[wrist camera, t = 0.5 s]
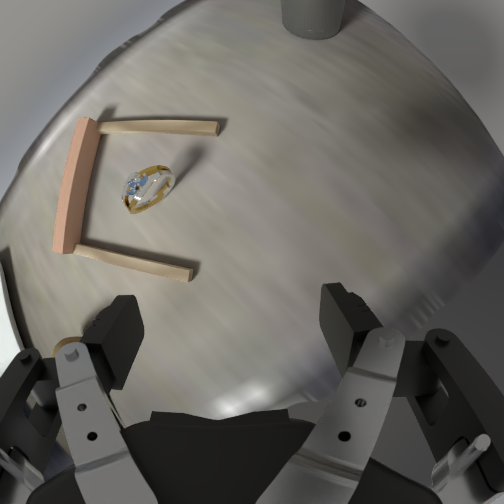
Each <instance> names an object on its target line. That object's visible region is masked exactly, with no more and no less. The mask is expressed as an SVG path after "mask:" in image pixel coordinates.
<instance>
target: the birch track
mask: <svg viewBox="0 0 504 504" xmlns="http://www.w3.org/2000/svg"><path fill="white" fill-rule="evenodd" d="M219 129H220V125H219V123H218V122H213V121H192V120H136V121H115V122H101V123H98V126H97V129H96V132H98V133H100V134H122V133H165V134H191V135H208V136H218V134H219ZM73 253H74V254H78V255H81V256H85V257H88V258H92V259H96V260H99V261H103V262H107V263H111V264H114V265H118V266H122V267H126V268H130V269H134V270H138V271H142V272H146V273H150V274H154V275H159V276H163V277H167V278H171V279H176V280H180V281H184V282H190V281H192V276H193V269H190V268H186V267H181V266H176V265H172V264H167V263H162V262H158V261H153V260H149V259H144V258H140V257H136V256H131V255H127V254H123V253H118V252H114V251H110V250H106V249H101V248H97V247H93V246H89V245H85V244H81V243H74V249H73Z"/></svg>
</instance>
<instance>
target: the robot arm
mask: <svg viewBox="0 0 504 504" xmlns="http://www.w3.org/2000/svg"><path fill="white" fill-rule="evenodd" d="M345 2H346V0H281V7H282V20H283V24H284V26H285V27H286V28H287V30H289V31H290V32H291V33H293V34H295V35H297V36H300V37H303V38H307V39H315V40H317V39H326V38H330V37H332V36H334V35H336V34H337V33H338V32H339V30H340V27H341V22H342V17H343V13H344V7H345ZM319 321H320V327H321V330H322V332H323V335H324V337H325V339H326V342H327V344H328V346H329V348H330V351H331V353H332V355H333V358H334V360H335V362H336V365H337V367H338V369H339V372H340V374H341V376H342V380H341V382H340V384H339V386H338V388H337V390H336V391H335V393H334V395H333V397H332V399H331V400H330V402H329V404H328V406H327V407H326V409H325V411H324V412H323V414H322V416H321V417H320V419H319V421H318V422H317V424H314V423H312V422H308V421H305V420H300V419H294V418H289V415H288V410H287V409H281V410H271V411H259V412H251V413H247V414H243V415H239V416H235V417H231V418H227V419H222V420H212V419H207V418H202V417H198V416H193V415H189V414H185V413H171V412H155V411H152V414H151V418H150V421H144V422H140V423H137V424H134V425H131V426H129V427H127V428H126V426H125V424H124V422H123V420H122V418H121V416H120V414H119V412H118V410H117V408H116V406H115V404H114V402H113V399H112V397H111V396H110V394H109V393H110V391H111V389H115V390H122V389H123V386H124V384H125V381H126V379H127V376H128V374H129V371H130V369H131V367H132V364H133V362H134V359H135V357H136V355H137V352H138V350H139V347H140V345H141V343H142V340H143V338H144V325H143V321H142V318H141V314H140V310H139V307H138V303H137V299H136V297H135V296H134V295H118V296H117V297H116V298H115V299H114V301H113V302H112V303H111V305H110V306H108V307H106V308H105V309H103V310H102V311H101V312H100V313H99V314H98V315H97V317H96V318H95V320H94V321H93V322H92V324H91V326H89V328H88V329H87V331H86V332H85V334H84V335H83V336H82V338H81V339H80V341H79V342H73V343H69V344H66V345H64V346H63V347H61V348H60V349H59V350H58V351H57V353H56V356H55V357H52V358H44V359H43V358H42V357H41V355H40V353H39V351H38V350H37V349H35V348H27V349H24V350H22V351H20V352H19V353H18V354H17V355H16V356H15V357H14V359H13V360H12V361H11V363H10V364H9V365H8V367H7V368H6V370H5V371H4V373H3V374H2V376H1V377H0V504H490V503H492V502H493V501H495V500H496V499H497V498H499V497H500V496H502V495H503V494H504V396H503V395H502V393H501V392H500V390H499V389H498V387H497V386H496V385H495V384H494V382H493V381H492V379H491V378H490V377H489V375H488V374H487V373H486V372H485V370H484V369H483V368H482V367H481V365H480V364H479V363H478V362H477V360H476V359H475V358H474V357H473V356H472V354H471V353H470V352H469V351H468V349H467V348H466V347H465V346H464V345H463V343H462V342H461V341H460V340H459V339H458V337H457V336H456V335H454V334H453V333H452V332H450V331H448V330H445V329H432V330H430V331H428V332H427V334H426V336H425V339H424V341H405V338H404V336H403V335H402V334H401V333H400V332H398V331H397V330H394V329H391V328H386V327H383V325H382V324H381V323H380V321H379V320H378V319H377V317H376V316H375V315H374V314H373V312H372V311H371V310H370V308H369V307H368V306H367V305H366V303H365V302H364V300H363V299H362V298H361V297H359V296H358V295H356V294H354V293H353V292H350V293H348V292H347V291H346V289H345V288H344V287H343V285H342V284H341V283H340V282H338V283H328V284H323V285H322V288H321V301H320V314H319ZM441 384H443V385H444V387H445V388H446V390H447V392H448V396H449V398H448V397H447V395H446V393H445V392H444V390H443V389H442V387H441ZM30 393H31V394H32V396H33V397H34V399H35V400H36V404H35V406H34V408H33V410H32V412H31V414H30V416H29V418H28V420H27V418H26V417H25V415H24V412H23V406H24V403H25V402H26V400H27V398H28V396H29V394H30ZM392 397H406V398H407V400H408V402H409V404H410V406H411V408H412V410H413V412H414V414H415V416H416V418H417V420H418V423H419V425H420V427H421V429H422V431H423V433H424V436H425V438H426V440H427V442H428V444H429V447H430V449H431V451H432V454H433V456H434V458H435V461H436V463H437V464H436V466H435V467H434V469H433V472H432V482H433V483H432V488H433V490H431V489H430V488H428V487H426V486H424V485H422V484H420V483H418V482H416V481H414V480H412V479H410V478H408V477H406V476H404V475H402V474H400V473H398V472H396V471H395V470H393V469H391V468H389V467H387V466H385V465H384V464H382V463H380V462H378V461H376V460H375V459H373V458H371V457H370V455H371V453H372V450H373V448H374V445H375V443H376V441H377V438H378V435H379V433H380V430H381V428H382V425H383V422H384V419H385V417H386V413H387V411H388V408H389V405H390V402H391V398H392ZM62 423H63V427H64V431H65V435H66V438H67V441H68V445H69V448H70V451H71V454H72V457H73V460H74V464H73V465H71V466H70V467H68V468H67V469H65V470H63V471H62V472H60V473H59V474H57V475H56V476H54V477H53V478H51V479H49V480H48V481H46V482H45V483H44V478H43V474H44V471H45V468H46V465H47V462H48V459H49V456H50V453H51V451H52V448H53V445H54V442H55V440H56V437H57V434H58V432H59V429H60V427H61V424H62Z"/></svg>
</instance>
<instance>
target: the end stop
mask: <svg viewBox="0 0 504 504" xmlns="http://www.w3.org/2000/svg"><path fill="white" fill-rule="evenodd" d="M97 126H98V122H96V121H95V120H93V119H91V118H81V119H78V122H77V125H76V128H75V132H74V135H73V138H72V142H71V146H70V149H69V153H68V157H67V161H66V166H65V170H64V175H63V179H62V184H61V190H60V195H59V201H58V207H57V214H56V221H55V230H54V239H53V250H52V251H54V252H57V253H61V254H70V253H73V249H74V243H80V239H81V231H82V223H83V216H84V210H85V204H86V198H87V192H88V187H89V182H90V177H91V173H92V168H93V164H94V160H95V156H96V152H97V148H98V144H99V140H100V137H101V134H100V133H98V132H96V129H97Z"/></svg>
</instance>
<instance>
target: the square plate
mask: <svg viewBox="0 0 504 504" xmlns="http://www.w3.org/2000/svg"><path fill="white" fill-rule="evenodd" d="M24 349H25V348H24V346H23V343H22V340H21V337H20V335H19V332H18V328H17V325H16V322H15V318H14V315H13V311H12V308H11V303H10V299H9V295H8V290H7V285H6V281H5V276H4V272H3V268H2V265H1V263H0V377H1V376H2V374H3V373H4V371H5V370H6V368H7V367H8V365H9V364H10V363H11V361H12V360H13V359H14V357H15V356H16V355H17V354H18V353H19V352H20V351H22V350H24Z"/></svg>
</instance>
